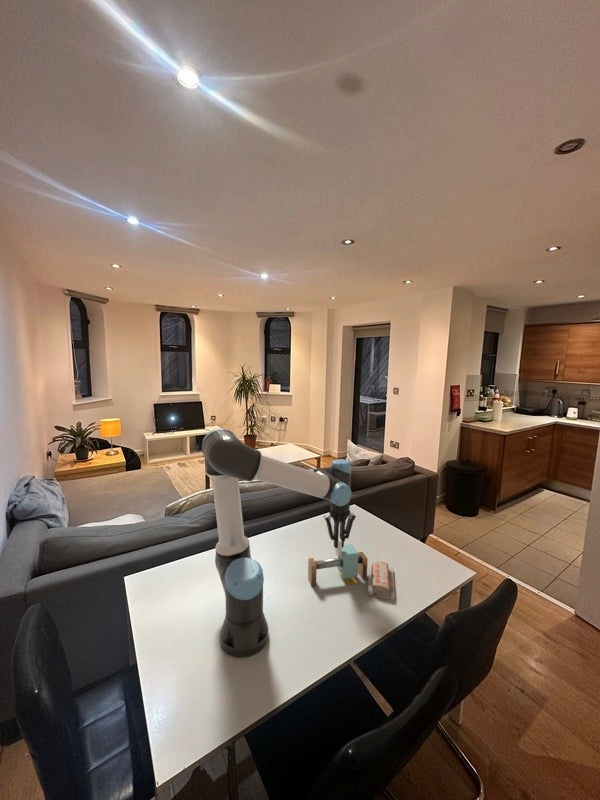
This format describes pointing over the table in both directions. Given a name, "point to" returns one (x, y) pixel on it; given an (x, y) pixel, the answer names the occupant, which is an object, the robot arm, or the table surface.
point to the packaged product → (381, 581)
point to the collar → (349, 562)
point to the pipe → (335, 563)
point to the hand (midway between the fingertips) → (338, 554)
